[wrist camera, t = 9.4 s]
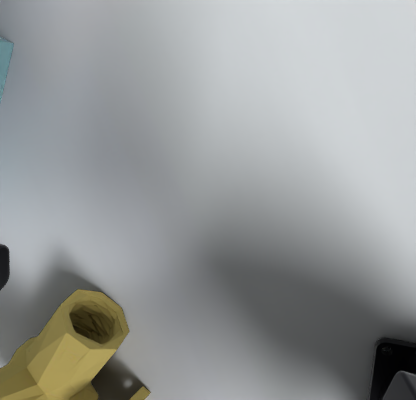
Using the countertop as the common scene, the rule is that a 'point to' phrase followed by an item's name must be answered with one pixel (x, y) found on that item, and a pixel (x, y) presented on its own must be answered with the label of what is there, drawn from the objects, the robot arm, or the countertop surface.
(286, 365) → the countertop surface
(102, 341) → the ball valve
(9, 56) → the crate
